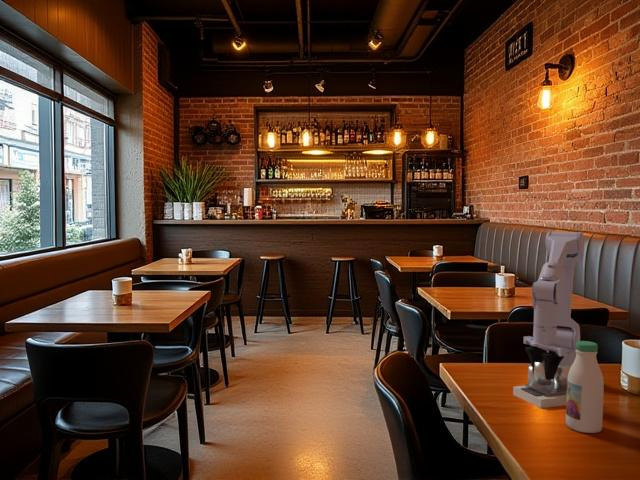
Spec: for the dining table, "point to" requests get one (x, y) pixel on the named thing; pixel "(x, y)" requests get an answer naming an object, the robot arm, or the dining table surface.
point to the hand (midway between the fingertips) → (543, 376)
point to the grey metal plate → (546, 389)
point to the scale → (539, 397)
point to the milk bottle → (585, 390)
